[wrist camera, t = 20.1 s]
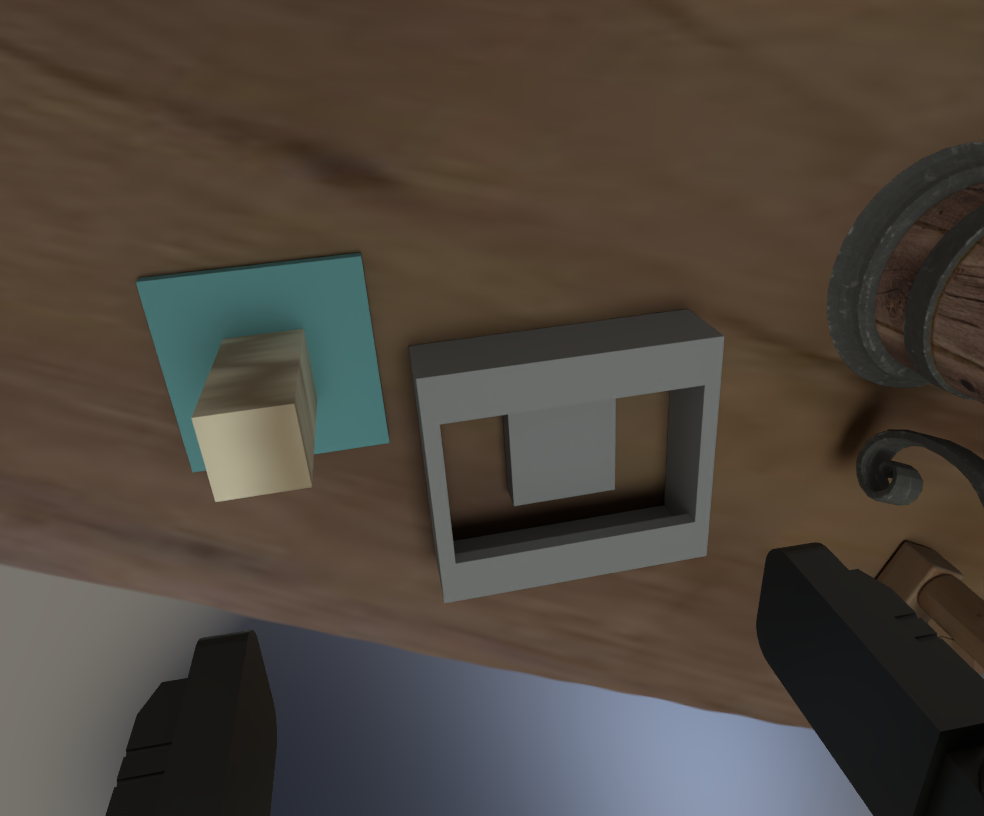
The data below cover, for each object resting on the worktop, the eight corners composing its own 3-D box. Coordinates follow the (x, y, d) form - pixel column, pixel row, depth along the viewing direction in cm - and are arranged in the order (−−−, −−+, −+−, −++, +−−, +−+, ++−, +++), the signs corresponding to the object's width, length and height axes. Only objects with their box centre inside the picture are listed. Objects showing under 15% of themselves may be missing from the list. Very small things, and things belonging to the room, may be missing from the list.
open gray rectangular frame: (435, 555, 52) (444, 603, 47) (408, 345, 44) (416, 379, 40) (676, 514, 54) (706, 555, 50) (688, 308, 47) (724, 336, 42)
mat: (195, 465, 45) (192, 472, 45) (139, 277, 40) (135, 282, 39) (388, 436, 47) (389, 442, 46) (360, 252, 41) (360, 256, 41)
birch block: (240, 409, 43) (215, 501, 34) (222, 338, 41) (191, 418, 32) (317, 398, 44) (312, 486, 35) (303, 328, 42) (294, 403, 33)
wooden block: (829, 636, 63) (993, 833, 47) (903, 538, 60) (1107, 716, 44) (860, 644, 65) (1030, 839, 49) (934, 548, 61) (1144, 725, 45)
